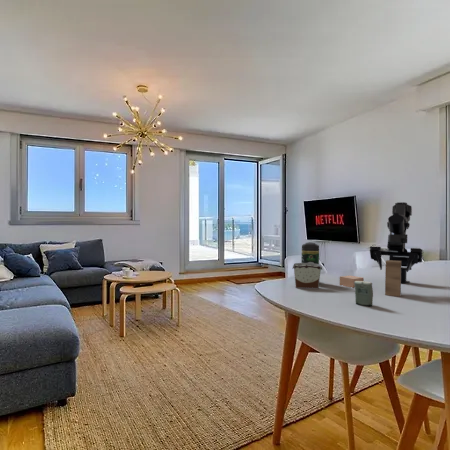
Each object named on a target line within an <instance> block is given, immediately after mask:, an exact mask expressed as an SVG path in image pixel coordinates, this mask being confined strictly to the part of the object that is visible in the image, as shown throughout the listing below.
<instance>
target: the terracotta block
mask: <svg viewBox="0 0 450 450" xmlns="http://www.w3.org/2000/svg"><path fill="white" fill-rule="evenodd" d="M355 281H364V277H361V276H355V275H342V276H339V285H340V286H342V285H343V287H347V288H351V287H352V288H353V289H355V288H354V287H355V284H354V282H355ZM364 282H365V281H364Z"/></svg>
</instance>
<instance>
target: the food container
mask: <svg viewBox="0 0 450 450" xmlns="http://www.w3.org/2000/svg"><path fill="white" fill-rule="evenodd" d="M292 270H293V274H294V283H295V284H294V285H295V289H313V290H314V289H316V290H317V289H319V288H320V281H321V280H320V279H321V271H323V267H322V264H320V263H319V264H314V263H301V262H296V263H293V265H292Z"/></svg>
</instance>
